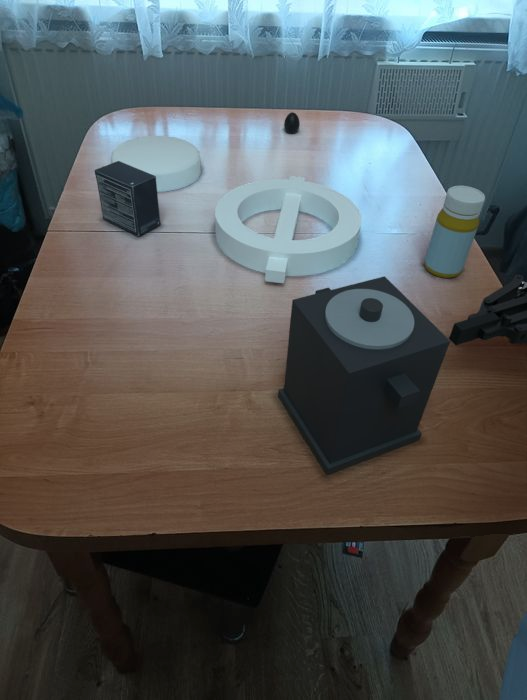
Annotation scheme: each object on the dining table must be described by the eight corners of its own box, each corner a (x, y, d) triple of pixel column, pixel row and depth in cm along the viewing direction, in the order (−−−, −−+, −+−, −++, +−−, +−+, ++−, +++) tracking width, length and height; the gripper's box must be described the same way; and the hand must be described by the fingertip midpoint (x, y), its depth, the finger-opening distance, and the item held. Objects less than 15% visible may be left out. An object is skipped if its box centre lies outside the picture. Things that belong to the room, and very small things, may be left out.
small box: (163, 224, 107) (158, 174, 100) (139, 238, 104) (132, 187, 96) (126, 207, 112) (118, 158, 105) (101, 219, 108) (92, 169, 101)
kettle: (436, 450, 70) (486, 338, 56) (335, 490, 65) (363, 378, 51) (357, 353, 83) (381, 242, 69) (268, 380, 78) (275, 267, 64)
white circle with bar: (297, 188, 121) (298, 168, 118) (387, 246, 105) (392, 224, 102) (188, 223, 108) (187, 201, 105) (272, 294, 92) (274, 271, 89)
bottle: (415, 266, 100) (436, 192, 90) (437, 253, 104) (460, 180, 93) (447, 284, 97) (472, 208, 86) (468, 270, 100) (496, 196, 90)
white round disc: (124, 151, 132) (121, 131, 128) (205, 155, 131) (205, 136, 128) (103, 189, 117) (99, 169, 114) (195, 194, 117) (194, 174, 114)
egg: (297, 135, 143) (299, 116, 139) (282, 133, 143) (283, 114, 140) (299, 129, 146) (301, 110, 142) (284, 128, 146) (286, 109, 143)
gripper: (607, 341, 77) (479, 387, 69) (539, 289, 86) (418, 326, 78) (634, 299, 72) (499, 345, 64) (559, 249, 80) (431, 284, 73)
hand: (455, 334), depth 71 cm, fingers closed
